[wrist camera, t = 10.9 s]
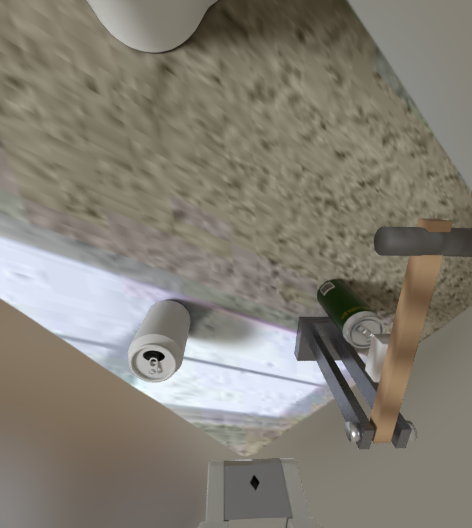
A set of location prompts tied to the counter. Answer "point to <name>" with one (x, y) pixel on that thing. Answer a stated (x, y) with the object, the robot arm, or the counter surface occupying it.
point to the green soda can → (349, 313)
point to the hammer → (408, 310)
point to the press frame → (338, 348)
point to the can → (160, 342)
